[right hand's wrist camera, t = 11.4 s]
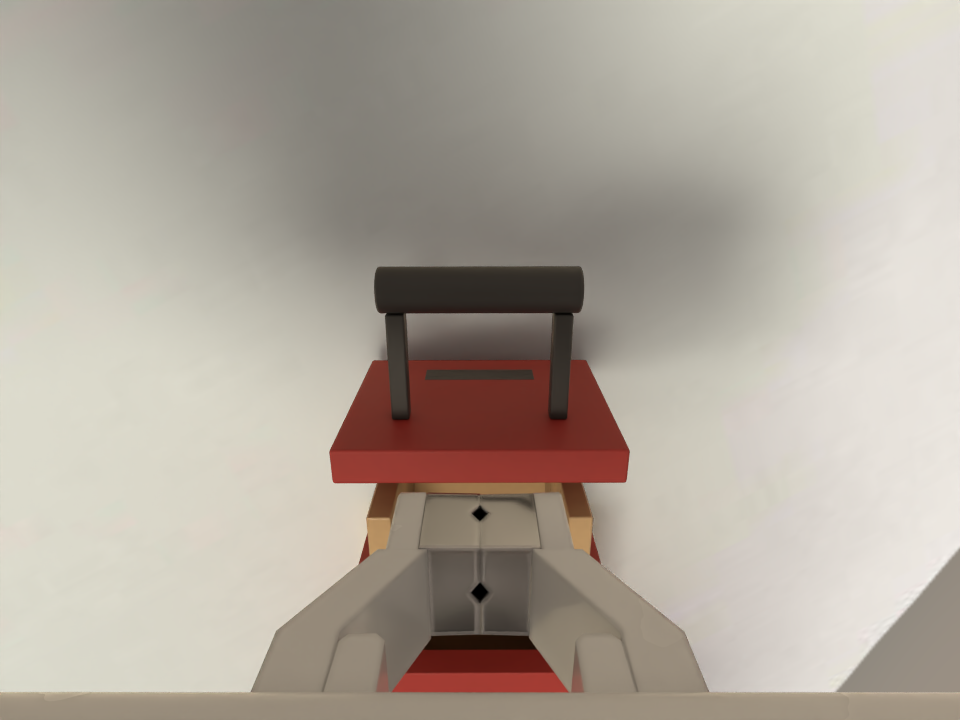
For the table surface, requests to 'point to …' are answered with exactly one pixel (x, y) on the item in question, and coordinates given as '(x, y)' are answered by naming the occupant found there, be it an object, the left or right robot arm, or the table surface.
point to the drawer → (479, 410)
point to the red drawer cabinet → (480, 667)
